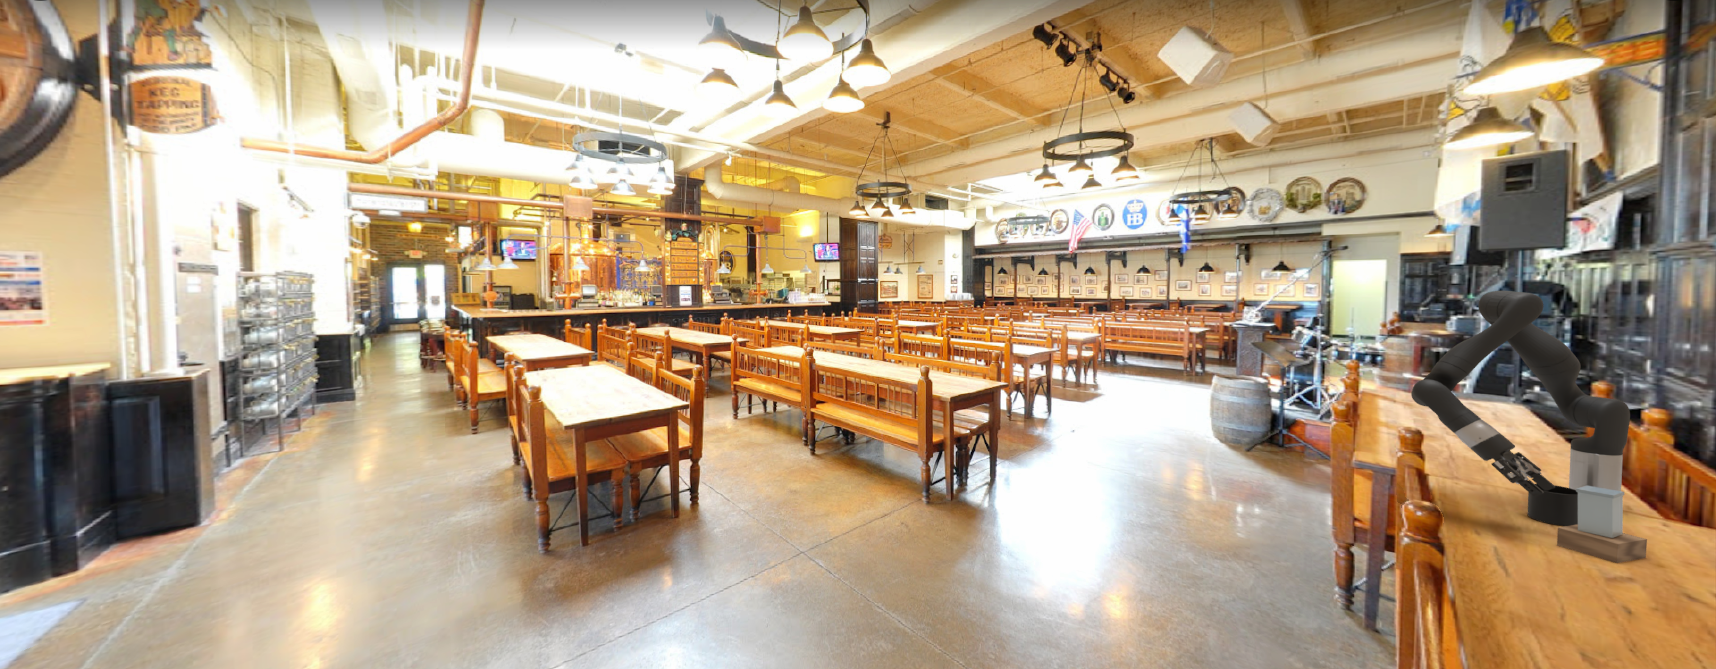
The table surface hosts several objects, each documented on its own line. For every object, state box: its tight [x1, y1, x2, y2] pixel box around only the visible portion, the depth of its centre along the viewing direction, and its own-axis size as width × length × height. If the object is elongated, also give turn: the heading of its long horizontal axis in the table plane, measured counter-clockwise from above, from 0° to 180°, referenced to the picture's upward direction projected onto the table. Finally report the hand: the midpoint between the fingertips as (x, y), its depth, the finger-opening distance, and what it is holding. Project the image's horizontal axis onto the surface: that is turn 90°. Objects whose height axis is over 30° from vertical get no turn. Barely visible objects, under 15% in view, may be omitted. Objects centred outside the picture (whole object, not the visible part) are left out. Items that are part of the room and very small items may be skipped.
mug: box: [1527, 483, 1578, 527], centre depth 158 cm, size 9×12×9 cm
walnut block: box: [1556, 524, 1648, 564], centre depth 138 cm, size 10×10×5 cm
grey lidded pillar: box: [1576, 486, 1625, 538], centre depth 138 cm, size 6×6×11 cm
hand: (1545, 491), depth 146 cm, fingers open, 8 cm apart
